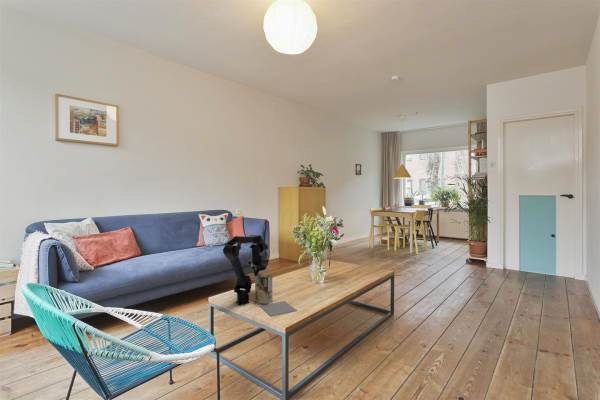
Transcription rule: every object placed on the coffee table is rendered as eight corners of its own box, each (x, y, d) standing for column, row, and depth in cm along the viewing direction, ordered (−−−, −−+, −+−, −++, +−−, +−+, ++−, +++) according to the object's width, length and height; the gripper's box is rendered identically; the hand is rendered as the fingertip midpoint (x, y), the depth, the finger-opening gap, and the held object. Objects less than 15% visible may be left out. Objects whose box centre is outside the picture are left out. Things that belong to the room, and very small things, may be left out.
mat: (270, 316, 163) (270, 316, 163) (259, 306, 177) (259, 305, 177) (296, 310, 170) (296, 310, 170) (284, 301, 184) (284, 301, 184)
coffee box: (273, 300, 186) (272, 274, 185) (268, 304, 180) (268, 277, 179) (259, 298, 189) (259, 273, 188) (254, 302, 183) (254, 276, 182)
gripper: (273, 255, 191) (273, 280, 191) (262, 250, 207) (262, 273, 208) (256, 257, 185) (256, 282, 186) (246, 252, 202) (246, 275, 202)
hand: (256, 278), depth 196 cm, fingers closed
